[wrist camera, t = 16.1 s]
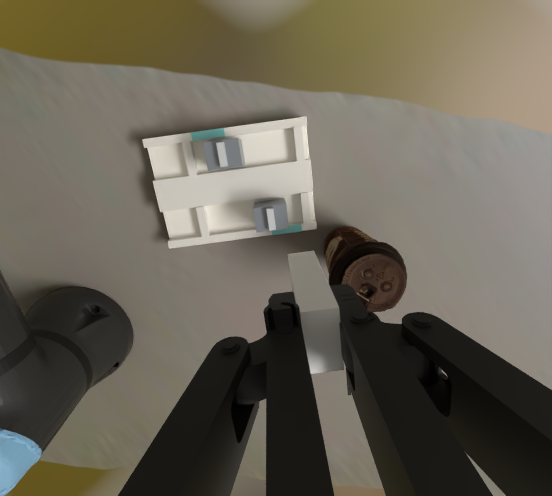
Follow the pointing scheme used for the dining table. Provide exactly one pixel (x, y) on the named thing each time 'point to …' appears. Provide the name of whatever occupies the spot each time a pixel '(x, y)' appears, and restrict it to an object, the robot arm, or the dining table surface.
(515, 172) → the dining table surface
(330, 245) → the coffee cup
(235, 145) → the tab
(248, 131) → the switch bank
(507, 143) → the dining table surface
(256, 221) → the tab
